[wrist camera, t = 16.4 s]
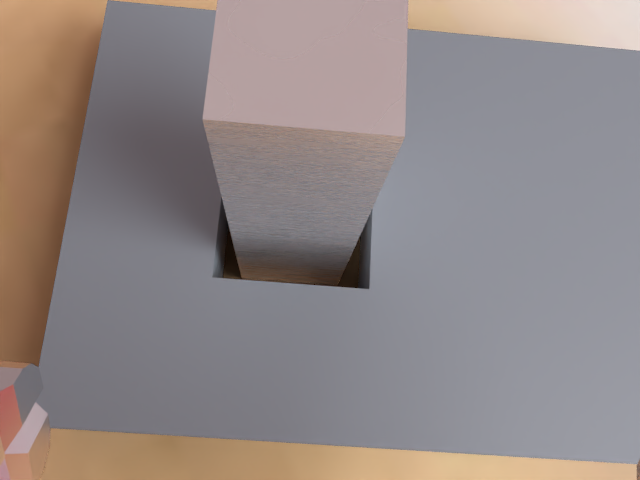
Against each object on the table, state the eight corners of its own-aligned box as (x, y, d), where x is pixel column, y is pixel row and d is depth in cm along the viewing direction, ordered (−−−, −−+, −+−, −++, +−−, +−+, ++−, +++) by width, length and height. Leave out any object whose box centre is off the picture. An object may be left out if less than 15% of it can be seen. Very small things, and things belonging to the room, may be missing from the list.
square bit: (241, 278, 22) (202, 119, 10) (250, 188, 23) (223, -49, 11) (337, 285, 22) (405, 136, 10) (342, 196, 23) (408, -31, 11)
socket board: (63, 425, 20) (27, 426, 17) (128, 50, 24) (107, 0, 21) (660, 462, 21) (722, 469, 18) (626, 96, 25) (672, 53, 22)
